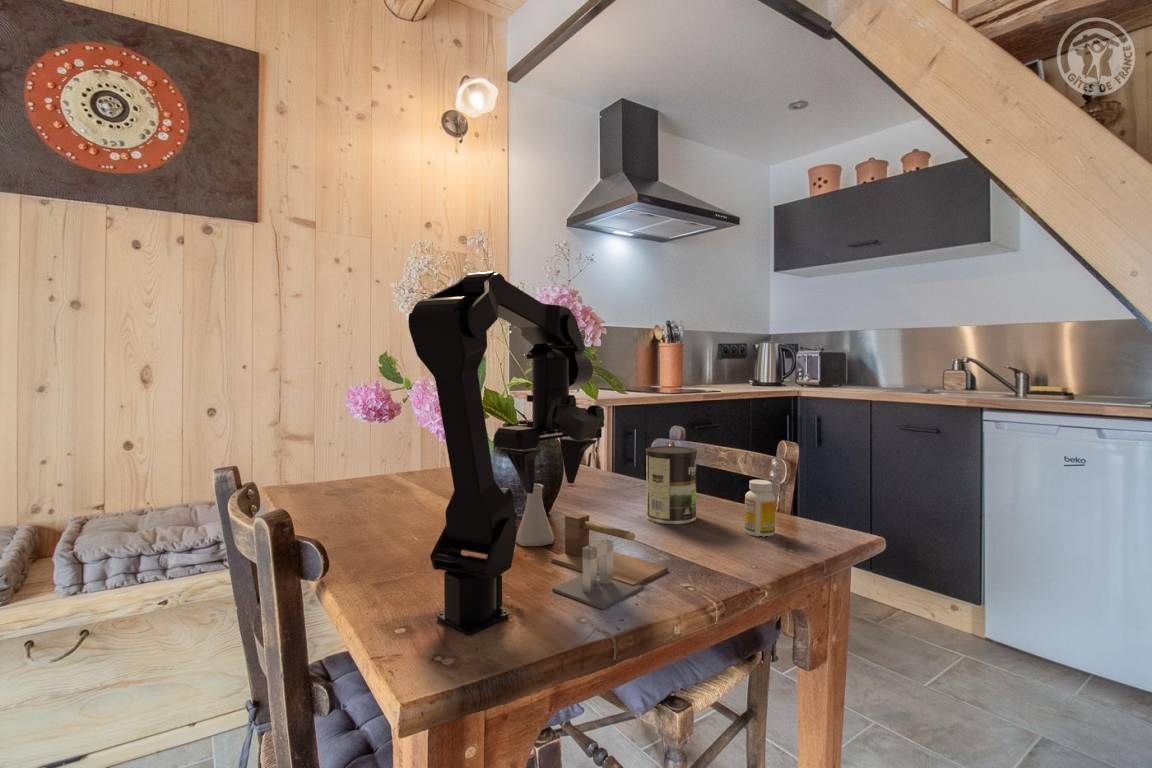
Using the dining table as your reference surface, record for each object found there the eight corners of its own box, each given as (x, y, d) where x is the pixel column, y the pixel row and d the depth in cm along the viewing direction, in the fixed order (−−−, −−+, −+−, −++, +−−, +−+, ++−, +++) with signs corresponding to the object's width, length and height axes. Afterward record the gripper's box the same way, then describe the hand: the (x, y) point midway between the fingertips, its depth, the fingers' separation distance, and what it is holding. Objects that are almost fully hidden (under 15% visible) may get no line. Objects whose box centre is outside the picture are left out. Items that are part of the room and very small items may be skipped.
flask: (518, 549, 94) (517, 491, 94) (511, 537, 101) (510, 482, 101) (559, 545, 96) (559, 488, 96) (549, 533, 103) (549, 480, 103)
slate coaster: (602, 609, 71) (602, 606, 71) (552, 590, 77) (552, 588, 77) (643, 588, 78) (643, 585, 78) (593, 572, 84) (593, 569, 84)
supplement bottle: (742, 534, 102) (742, 483, 101) (747, 527, 107) (747, 477, 106) (773, 539, 99) (773, 486, 99) (776, 531, 104) (777, 480, 104)
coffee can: (698, 512, 117) (698, 446, 116) (694, 526, 107) (694, 454, 107) (649, 509, 120) (649, 444, 119) (641, 522, 110) (641, 451, 109)
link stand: (633, 588, 77) (633, 540, 77) (551, 561, 88) (551, 519, 88) (668, 570, 84) (668, 526, 84) (588, 547, 95) (588, 508, 95)
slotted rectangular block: (590, 593, 75) (590, 549, 75) (582, 591, 76) (582, 547, 76) (613, 582, 79) (613, 541, 78) (605, 580, 79) (605, 538, 79)
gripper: (545, 392, 74) (545, 508, 75) (628, 388, 88) (627, 485, 89) (491, 390, 81) (492, 495, 82) (575, 386, 95) (575, 476, 96)
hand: (551, 488), depth 87 cm, fingers open, 9 cm apart
